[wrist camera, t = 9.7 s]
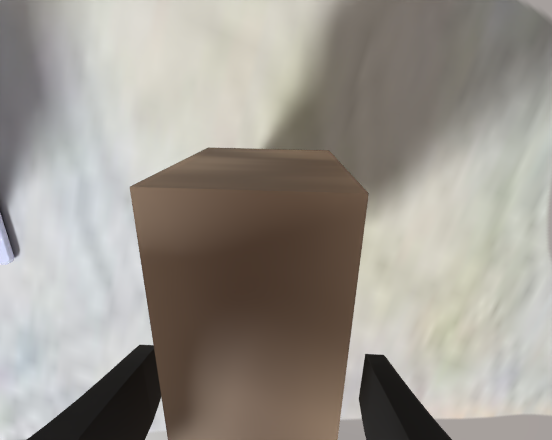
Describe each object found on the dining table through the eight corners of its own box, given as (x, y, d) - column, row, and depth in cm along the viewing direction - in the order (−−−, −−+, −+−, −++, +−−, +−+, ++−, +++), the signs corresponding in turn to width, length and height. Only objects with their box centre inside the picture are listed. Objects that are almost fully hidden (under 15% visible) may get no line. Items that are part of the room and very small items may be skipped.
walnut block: (220, 356, 15) (178, 508, 9) (208, 147, 11) (129, 186, 6) (312, 361, 15) (327, 517, 9) (329, 150, 11) (368, 193, 6)
